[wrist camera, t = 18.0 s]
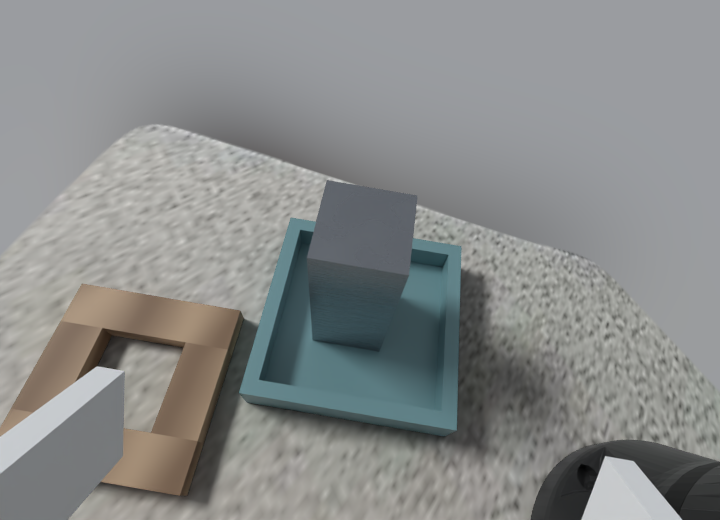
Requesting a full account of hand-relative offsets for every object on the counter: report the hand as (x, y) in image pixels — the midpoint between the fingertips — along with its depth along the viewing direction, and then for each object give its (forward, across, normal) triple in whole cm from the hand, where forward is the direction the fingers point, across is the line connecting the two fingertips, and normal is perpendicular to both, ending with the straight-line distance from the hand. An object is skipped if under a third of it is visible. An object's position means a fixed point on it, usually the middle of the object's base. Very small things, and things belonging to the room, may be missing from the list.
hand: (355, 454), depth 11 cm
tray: (+20, 0, -5) cm, 21 cm away
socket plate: (+15, -15, -10) cm, 24 cm away
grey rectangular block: (+20, -1, -4) cm, 20 cm away
